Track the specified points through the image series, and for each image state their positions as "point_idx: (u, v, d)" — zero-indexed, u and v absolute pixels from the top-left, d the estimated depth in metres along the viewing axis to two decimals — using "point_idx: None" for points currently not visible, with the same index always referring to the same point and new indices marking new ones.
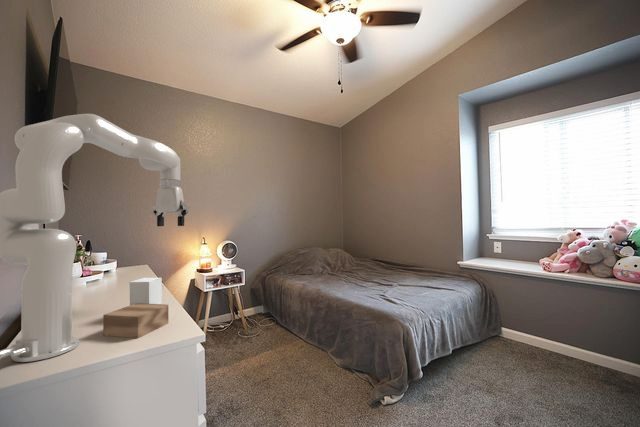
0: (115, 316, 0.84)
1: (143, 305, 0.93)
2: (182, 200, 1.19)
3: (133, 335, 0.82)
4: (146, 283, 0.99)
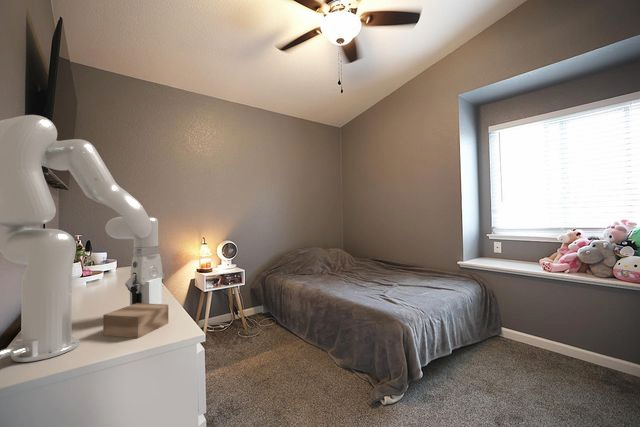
0: (115, 316, 0.84)
1: (143, 305, 0.93)
2: None
3: (133, 335, 0.82)
4: (146, 283, 0.99)
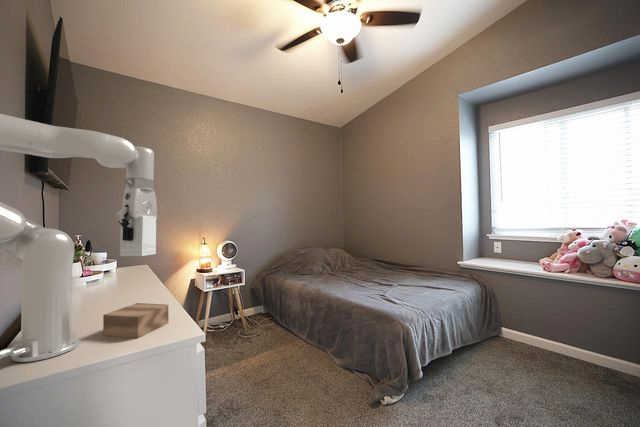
0: (115, 316, 0.84)
1: (143, 305, 0.93)
2: None
3: (133, 335, 0.82)
4: (139, 217, 0.89)
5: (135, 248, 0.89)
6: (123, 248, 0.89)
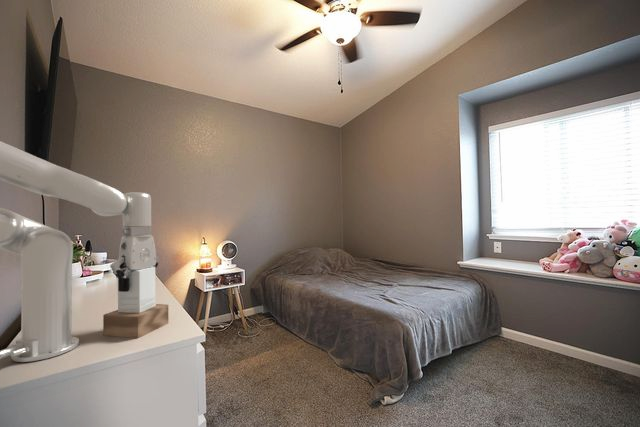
0: (115, 316, 0.84)
1: None
2: None
3: (133, 335, 0.82)
4: (136, 272, 0.85)
5: (132, 305, 0.85)
6: (121, 304, 0.86)
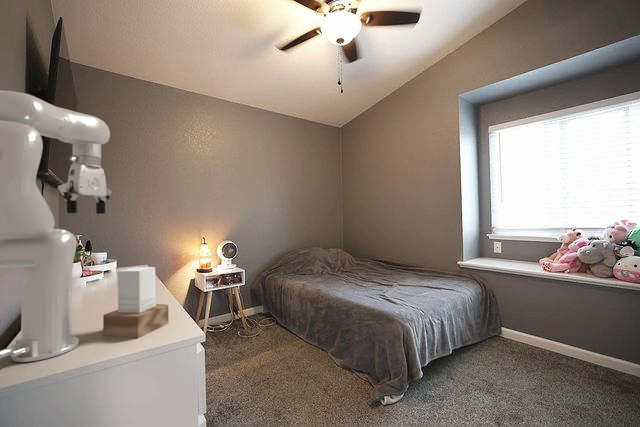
0: (115, 316, 0.84)
1: None
2: None
3: (133, 335, 0.82)
4: (136, 272, 0.85)
5: (132, 305, 0.85)
6: (121, 304, 0.86)
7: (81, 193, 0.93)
